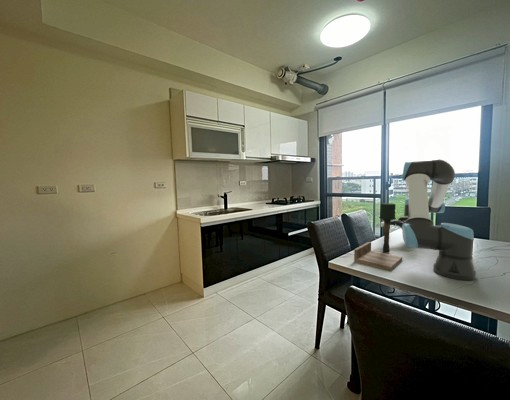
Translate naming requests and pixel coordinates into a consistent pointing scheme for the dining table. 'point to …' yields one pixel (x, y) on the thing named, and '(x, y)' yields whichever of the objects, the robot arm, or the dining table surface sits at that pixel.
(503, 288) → the dining table surface
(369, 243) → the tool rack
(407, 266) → the dining table surface
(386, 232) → the stick grenade
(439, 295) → the dining table surface
